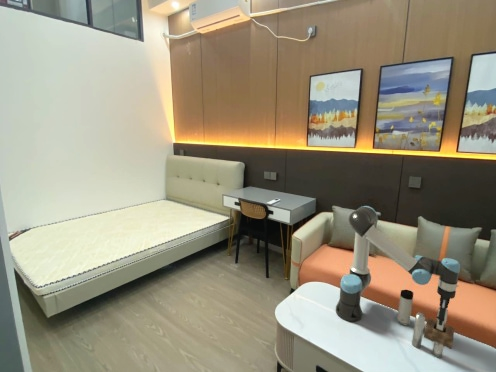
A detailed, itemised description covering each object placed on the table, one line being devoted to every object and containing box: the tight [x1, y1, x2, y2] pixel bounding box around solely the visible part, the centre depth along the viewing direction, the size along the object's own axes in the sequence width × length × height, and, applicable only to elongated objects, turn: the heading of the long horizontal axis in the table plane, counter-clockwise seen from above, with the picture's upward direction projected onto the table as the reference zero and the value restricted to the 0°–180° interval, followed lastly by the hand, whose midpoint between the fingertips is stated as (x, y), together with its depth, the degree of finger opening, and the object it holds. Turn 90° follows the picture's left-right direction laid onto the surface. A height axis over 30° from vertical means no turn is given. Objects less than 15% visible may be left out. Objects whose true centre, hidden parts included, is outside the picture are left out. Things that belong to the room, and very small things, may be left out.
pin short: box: [431, 341, 445, 359], centre depth 132 cm, size 4×4×6 cm
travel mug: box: [396, 289, 414, 326], centre depth 153 cm, size 6×7×20 cm
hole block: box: [423, 317, 456, 350], centre depth 143 cm, size 12×10×6 cm
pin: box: [435, 306, 449, 332], centre depth 141 cm, size 4×4×14 cm
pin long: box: [411, 312, 426, 349], centre depth 136 cm, size 4×4×18 cm
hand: (440, 326), depth 142 cm, fingers closed on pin, 4 cm apart
